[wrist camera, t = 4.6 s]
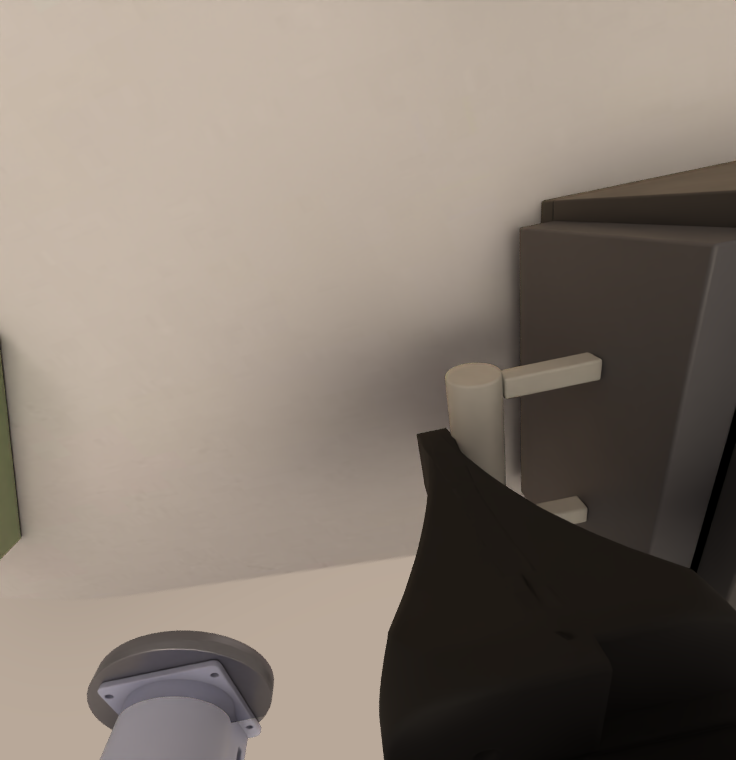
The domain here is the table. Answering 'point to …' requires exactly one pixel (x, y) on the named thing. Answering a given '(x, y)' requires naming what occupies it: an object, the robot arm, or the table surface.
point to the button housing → (7, 481)
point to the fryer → (683, 208)
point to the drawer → (616, 381)
